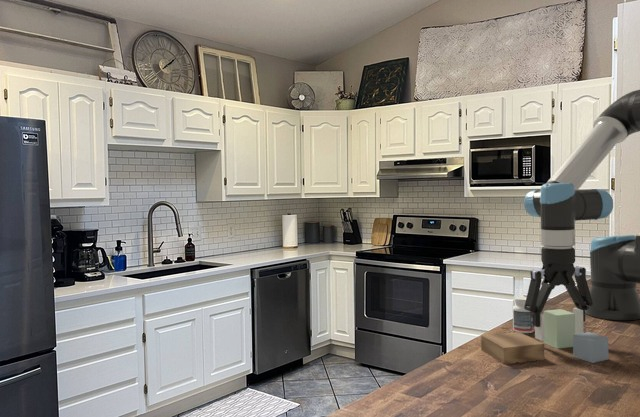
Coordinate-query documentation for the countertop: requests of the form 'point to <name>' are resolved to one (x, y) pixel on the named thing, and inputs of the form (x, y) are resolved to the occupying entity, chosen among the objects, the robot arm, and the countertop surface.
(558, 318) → the sage block
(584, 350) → the slate cube
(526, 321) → the pill bottle
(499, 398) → the countertop surface
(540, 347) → the walnut slab
